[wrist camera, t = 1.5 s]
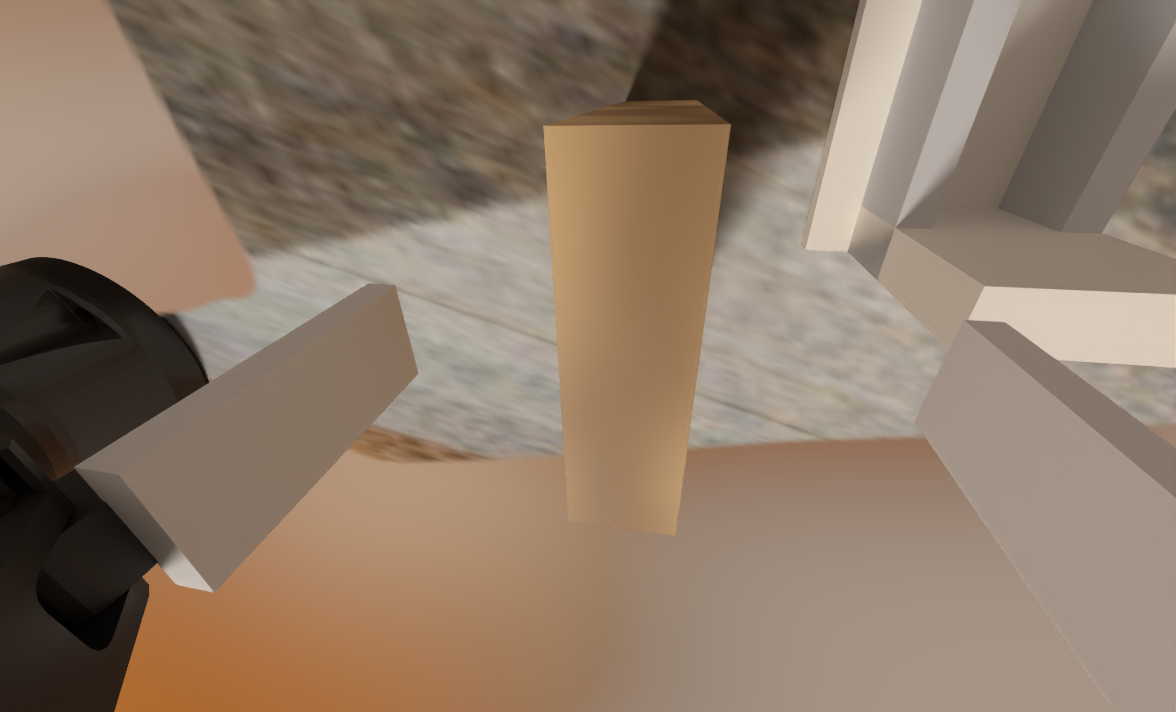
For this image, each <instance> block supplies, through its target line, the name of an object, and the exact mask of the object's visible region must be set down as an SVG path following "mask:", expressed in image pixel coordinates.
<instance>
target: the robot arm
mask: <svg viewBox="0 0 1176 712" xmlns="http://www.w3.org/2000/svg"><path fill="white" fill-rule="evenodd" d="M417 374H418V370H417V366H416V362H415V359H414V355H413V351H412V347H411V344H410V340H409V336H408V332H407V328H406V325H405V321H404V317H403V313H402V310H401V306H400V302H399V298H398V294H397V291H396V287H395V285H384V284H367V285H366V286H364V287H362V288H361V289H359V290H358V291H356V292H354V293H353V294H351V295H349V296H348V297H346V298H345V299H343V300H341V301H340V302H338V303H337V304H335V305H333V306H332V307H330V308H329V309H327V310H325V311H324V312H322V313H321V314H319V315H317V316H316V317H314V318H313V319H311V320H309V321H308V322H306V323H304V324H303V325H301V326H300V327H298V328H296V329H295V330H293V331H292V332H290V333H288V334H287V335H285V336H284V337H282V338H280V339H279V340H277V341H276V342H274V343H272V344H271V345H269V346H268V347H266V348H264V349H263V350H261V351H259V352H258V353H256V354H255V355H253V356H251V357H250V358H248V359H247V360H245V361H243V362H242V363H240V364H239V365H237V366H235V367H234V368H232V369H231V370H229V371H227V372H226V373H224V374H223V375H221V376H219V377H218V378H216V379H215V380H213V381H211V382H210V383H208V384H206V382H205V379H204V376H203V374H202V372H201V370H200V368H199V366H198V364H197V362H196V360H195V359H194V357H193V355H192V354H191V352H190V351H189V350H188V348H187V347H186V345H185V344H184V343H183V341H182V340H181V339H180V338H179V337H178V335H177V334H176V333H175V332H174V331H173V330H172V329H171V327H170V326H169V325H168V324H167V323H166V322H165V321H164V320H163V319H162V318H161V317H160V316H159V315H158V314H156V313H155V312H154V311H153V310H152V309H151V308H150V307H148V306H147V305H146V304H145V303H144V302H142V301H141V300H140V299H139V298H137V297H136V296H135V295H133V294H132V293H130V292H129V291H127V290H126V289H125V288H123V287H122V286H120V285H118V284H117V283H115V282H113V281H112V280H110V279H108V278H106V277H105V276H103V275H101V274H99V273H97V272H95V271H92V270H91V269H88V268H85V267H83V266H81V265H78V264H75V263H72V262H69V261H65V260H61V259H56V258H48V257H36V258H30V259H26V260H22V261H18V262H15V263H11V264H7V265H3V266H0V712H114V710H115V707H116V704H117V701H118V697H119V694H120V691H121V687H122V684H123V681H124V677H125V674H126V671H127V667H128V664H129V661H130V657H131V654H132V651H133V647H134V644H135V641H136V637H137V634H138V631H139V627H140V624H141V621H142V617H143V614H144V611H145V607H146V604H147V601H148V597H149V584H148V583H147V582H146V581H145V580H144V579H143V578H142V576H143V575H144V574H145V573H147V572H148V571H149V570H150V569H151V568H152V567H153V566H154V565H155V564H156V563H158V564H159V565H160V567H161V568H162V569H163V570H164V571H165V572H166V573H167V574H168V576H169V577H170V578H171V579H172V580H173V581H174V583H175V584H176V585H181V586H186V587H190V588H195V589H200V590H205V591H210V592H215V591H216V590H217V589H218V588H219V587H220V586H221V585H222V584H223V583H224V582H225V581H226V579H227V578H228V577H229V576H230V575H231V574H232V573H233V572H234V571H235V570H236V569H237V568H238V567H239V566H240V564H241V563H242V562H243V561H244V560H245V559H246V558H247V557H248V556H249V555H250V554H251V553H252V551H253V550H254V549H255V548H256V547H257V546H258V545H259V544H260V543H261V542H262V541H263V540H264V539H265V538H266V536H267V535H268V534H269V533H270V532H271V531H272V530H273V529H274V528H275V527H276V526H277V525H278V524H279V522H280V521H281V520H282V519H283V518H284V517H285V516H286V515H287V514H288V513H289V512H290V511H291V510H292V509H293V508H294V506H295V505H296V504H297V503H298V502H299V501H300V500H301V499H302V498H303V497H304V496H305V495H306V494H307V492H308V491H309V490H310V489H311V488H312V487H313V486H314V485H315V484H316V483H317V482H318V481H319V480H320V478H321V477H322V476H323V475H324V474H325V473H326V472H327V471H328V470H329V469H330V468H331V467H332V466H333V465H334V463H335V462H336V461H337V460H338V459H339V458H340V457H341V456H342V455H343V454H344V453H345V452H346V451H347V450H348V448H349V447H350V446H351V445H352V444H353V443H354V442H355V441H356V440H357V439H358V438H359V437H360V436H361V434H362V433H363V432H364V431H365V430H366V429H367V428H368V427H369V426H370V425H371V424H372V423H373V422H374V421H375V419H376V418H377V417H378V416H379V415H380V414H381V413H382V412H383V411H384V410H385V409H386V408H387V407H388V405H389V404H390V403H391V402H392V401H393V400H394V399H395V398H396V397H397V396H398V395H399V394H400V393H401V392H402V390H403V389H404V388H405V387H406V386H407V385H408V384H409V383H410V382H411V381H412V380H413V379H414V378H415V376H416V375H417ZM915 423H916V424H917V426H918V427H919V429H920V430H921V432H922V433H923V434H924V436H925V437H926V439H927V440H928V442H929V443H930V445H931V446H932V448H933V449H934V451H935V452H936V453H937V455H938V456H939V458H940V459H941V461H942V462H943V464H944V465H945V467H946V468H947V470H948V471H949V473H950V474H951V475H952V477H953V478H954V480H955V481H956V483H957V484H958V486H959V487H960V489H961V490H962V492H963V493H964V494H965V496H966V497H967V499H968V500H969V502H970V503H971V505H972V506H973V508H974V509H975V510H976V512H977V513H978V515H979V516H980V518H981V519H982V521H983V522H984V524H985V525H986V527H987V528H988V530H989V531H990V532H991V534H992V535H993V537H994V538H995V540H996V541H997V543H998V544H999V546H1000V547H1001V549H1002V550H1003V552H1004V553H1005V554H1006V556H1007V557H1008V559H1009V560H1010V562H1011V563H1012V565H1013V566H1014V568H1015V569H1016V571H1017V572H1018V573H1019V575H1020V577H1021V578H1022V579H1023V581H1024V582H1025V584H1026V585H1027V587H1028V588H1029V590H1030V591H1031V592H1032V594H1033V596H1034V597H1035V598H1036V600H1037V601H1038V603H1039V604H1040V606H1041V607H1042V609H1043V610H1044V612H1045V613H1046V614H1047V616H1048V617H1049V619H1050V620H1051V622H1052V623H1053V625H1054V626H1055V628H1056V629H1057V631H1058V632H1059V634H1060V635H1061V637H1062V638H1063V639H1064V641H1065V642H1066V644H1067V645H1068V647H1069V648H1070V650H1071V651H1072V653H1073V654H1074V655H1075V657H1076V658H1077V660H1078V661H1079V663H1080V664H1081V666H1082V667H1083V669H1084V670H1085V672H1086V673H1087V675H1088V676H1089V677H1090V679H1091V680H1092V682H1093V683H1094V685H1095V686H1096V688H1097V689H1098V691H1099V692H1100V694H1101V695H1102V697H1103V698H1104V700H1105V701H1106V702H1107V704H1108V705H1109V707H1110V708H1111V710H1112V711H1113V712H1176V448H1175V447H1174V446H1172V445H1171V444H1169V443H1168V442H1167V441H1166V440H1164V439H1163V438H1161V437H1160V436H1159V435H1157V434H1156V433H1155V432H1153V431H1152V430H1151V429H1149V428H1148V427H1147V426H1145V425H1144V424H1143V423H1141V422H1140V421H1138V420H1137V419H1136V418H1134V417H1133V416H1132V415H1130V414H1129V413H1128V412H1126V411H1125V410H1124V409H1122V408H1121V407H1119V406H1118V405H1117V404H1115V403H1114V402H1113V401H1111V400H1110V399H1109V398H1107V397H1106V396H1105V395H1103V394H1102V393H1101V392H1099V391H1098V390H1096V389H1095V388H1094V387H1092V386H1091V385H1090V384H1088V383H1087V382H1086V381H1084V380H1083V379H1082V378H1080V377H1079V376H1078V375H1076V374H1075V373H1073V372H1072V371H1071V370H1069V369H1068V368H1067V367H1065V366H1064V365H1063V364H1061V363H1060V362H1059V361H1057V360H1056V359H1054V358H1053V357H1052V356H1050V355H1049V354H1048V353H1046V352H1045V351H1044V350H1042V349H1041V348H1040V347H1038V346H1037V345H1036V344H1034V343H1033V342H1031V341H1030V340H1029V339H1027V338H1026V337H1025V336H1023V335H1022V334H1021V333H1019V332H1018V331H1017V330H1015V329H1014V328H1012V327H1011V326H1010V325H1008V324H1007V323H1006V322H993V321H977V320H963V322H962V324H961V326H960V328H959V330H958V332H957V334H956V337H955V339H954V341H953V343H952V345H951V347H950V349H949V351H948V353H947V355H946V357H945V360H944V362H943V364H942V366H941V368H940V370H939V372H938V374H937V376H936V378H935V380H934V382H933V385H932V387H931V389H930V391H929V393H928V395H927V397H926V399H925V401H924V403H923V405H922V407H921V410H920V412H919V414H918V416H917V418H916V420H915Z"/></svg>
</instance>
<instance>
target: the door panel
mask: <svg viewBox="0 0 1176 712" xmlns="http://www.w3.org/2000/svg"><path fill="white" fill-rule="evenodd" d="M730 128H731V124H730V123H728V122H727V121H726V120H724V119H723V118H721V117H720V116H718V115H717V114H716V113H714V112H713V111H711V110H710V109H709V108H707V107H706V106H704V105H703V104H702V103H700V102H699V101H697V100H669V101H625V102H622V103H618V104H615V105H612V106H608V107H605V108H601V109H598V110H595V111H591V112H588V113H585V114H581V115H578V116H575V117H571V118H568V119H565V120H561V121H558V122H555V123H551V124H548V125H545V126H544V141H545V157H546V173H547V189H548V204H549V220H550V236H551V252H552V268H553V284H554V299H555V315H556V331H557V347H558V363H559V379H560V394H561V410H562V426H563V442H564V458H565V473H566V488H567V505H568V520H569V521H571V522H578V523H585V524H593V525H600V526H608V527H615V528H623V529H630V530H637V531H645V532H652V533H661V534H667V535H674V536H675V535H676V528H677V520H678V513H679V505H680V498H681V491H682V483H683V476H684V468H685V461H686V454H687V446H688V439H689V431H690V424H691V417H692V409H693V402H694V394H695V387H696V380H697V372H698V365H699V357H700V350H701V343H702V335H703V328H704V320H705V313H706V306H707V298H708V291H709V283H710V276H711V269H712V261H713V254H714V246H715V239H716V232H717V224H718V217H719V209H720V202H721V195H722V187H723V180H724V172H725V165H726V158H727V150H728V143H729V135H730Z"/></svg>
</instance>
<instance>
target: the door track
mask: <svg viewBox="0 0 1176 712" xmlns="http://www.w3.org/2000/svg"><path fill="white" fill-rule="evenodd" d="M1175 109H1176V0H860V1H859V5H858V10H857V14H856V18H855V22H854V26H853V31H852V35H851V39H850V43H849V47H848V51H847V56H846V60H845V64H844V68H843V72H842V76H841V81H840V85H839V89H838V93H837V97H836V101H835V106H834V110H833V114H832V118H831V122H830V126H829V131H828V135H827V139H826V143H825V147H824V151H823V156H822V160H821V164H820V168H819V172H818V176H817V181H816V185H815V189H814V193H813V197H812V201H811V206H810V210H809V214H808V218H807V222H806V226H805V231H804V235H803V239H802V243H801V245H802V246H803V248H804V249H805V250H825V251H848V252H849V253H850V254H851V255H852V256H853V257H854V258H855V259H856V260H857V261H858V262H859V263H860V264H861V265H862V266H863V267H864V268H865V269H866V270H867V271H868V272H869V273H870V274H871V275H872V276H873V277H875V278H876V279H877V280H878V281H879V282H880V283H881V284H882V285H883V286H884V287H885V288H886V289H887V290H888V291H889V292H890V293H891V294H892V295H893V296H894V297H895V298H896V299H897V300H898V301H899V302H900V303H901V304H902V305H903V306H904V307H905V308H906V309H907V310H908V311H910V312H911V313H912V314H913V315H914V316H915V317H916V318H917V319H918V320H919V321H920V322H921V323H922V324H923V325H924V326H925V327H926V328H927V329H928V330H929V331H930V332H931V333H932V334H933V335H934V336H935V337H936V338H937V339H938V340H939V341H940V342H941V343H942V344H943V345H945V346H946V347H947V348H948V349H950V347H951V345H952V343H953V341H954V339H955V337H956V334H957V332H958V330H959V328H960V326H961V324H962V322H963V320H977V321H993V322H1006V323H1007V324H1008V325H1010V326H1011V327H1012V328H1014V329H1015V330H1017V331H1018V332H1019V333H1021V334H1022V335H1023V336H1025V337H1026V338H1027V339H1029V340H1030V341H1031V342H1033V343H1034V344H1036V345H1037V346H1038V347H1040V348H1041V349H1042V350H1044V351H1045V352H1046V353H1048V354H1049V355H1050V356H1052V357H1053V358H1054V359H1056V360H1068V361H1083V362H1098V363H1114V364H1129V365H1144V366H1159V367H1175V368H1176V259H1174V258H1171V257H1168V256H1165V255H1162V254H1160V253H1157V252H1154V251H1151V250H1148V249H1145V248H1142V247H1139V246H1137V245H1134V244H1131V243H1128V242H1125V241H1122V240H1119V239H1116V238H1114V237H1111V236H1108V235H1105V234H1102V232H1103V230H1104V228H1105V227H1106V225H1107V223H1108V221H1109V220H1110V218H1111V216H1112V215H1113V213H1114V211H1115V210H1116V208H1117V206H1118V205H1119V203H1120V201H1121V200H1122V198H1123V196H1124V195H1125V193H1126V191H1127V190H1128V188H1129V186H1130V185H1131V183H1132V181H1133V180H1134V178H1135V176H1136V174H1137V173H1138V171H1139V169H1140V168H1141V166H1142V164H1143V163H1144V161H1145V159H1146V158H1147V156H1148V154H1149V153H1150V151H1151V149H1152V148H1153V146H1154V144H1155V143H1156V141H1157V139H1158V138H1159V136H1160V134H1161V133H1162V131H1163V129H1164V127H1165V126H1166V124H1167V122H1168V121H1169V119H1170V117H1171V116H1172V114H1173V112H1174V111H1175Z"/></svg>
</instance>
